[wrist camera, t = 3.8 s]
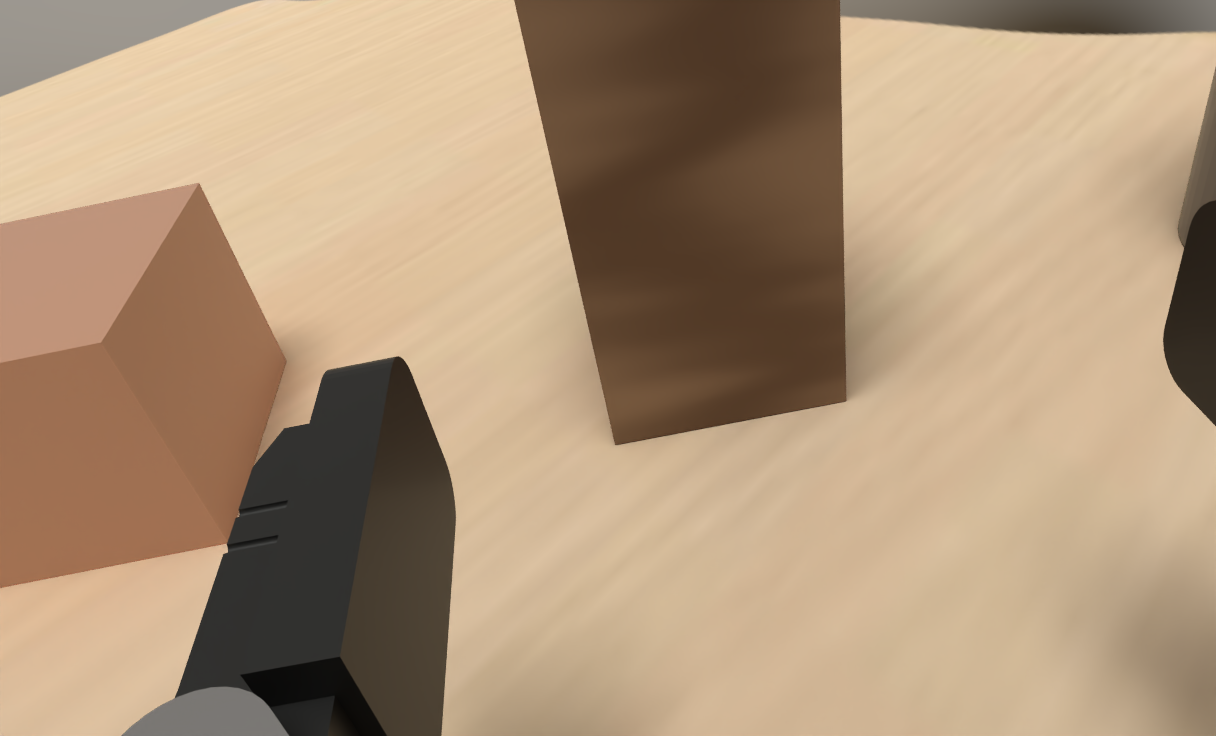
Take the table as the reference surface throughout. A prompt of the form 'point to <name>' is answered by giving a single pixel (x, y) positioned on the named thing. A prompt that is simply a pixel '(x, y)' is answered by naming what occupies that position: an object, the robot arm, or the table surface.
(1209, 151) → the charcoal cylinder
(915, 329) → the table surface
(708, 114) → the walnut column
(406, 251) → the table surface
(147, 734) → the robot arm
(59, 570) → the terracotta block
